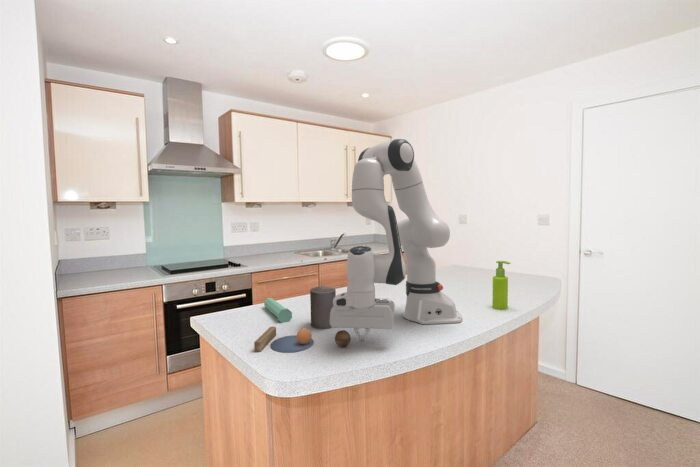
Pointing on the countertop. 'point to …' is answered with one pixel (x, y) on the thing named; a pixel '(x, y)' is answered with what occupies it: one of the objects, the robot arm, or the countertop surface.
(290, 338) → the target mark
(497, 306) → the soap dispenser
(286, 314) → the container
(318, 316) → the pillar candle
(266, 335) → the rail
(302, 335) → the ball
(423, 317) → the robot arm
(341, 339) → the ball
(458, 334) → the countertop surface
